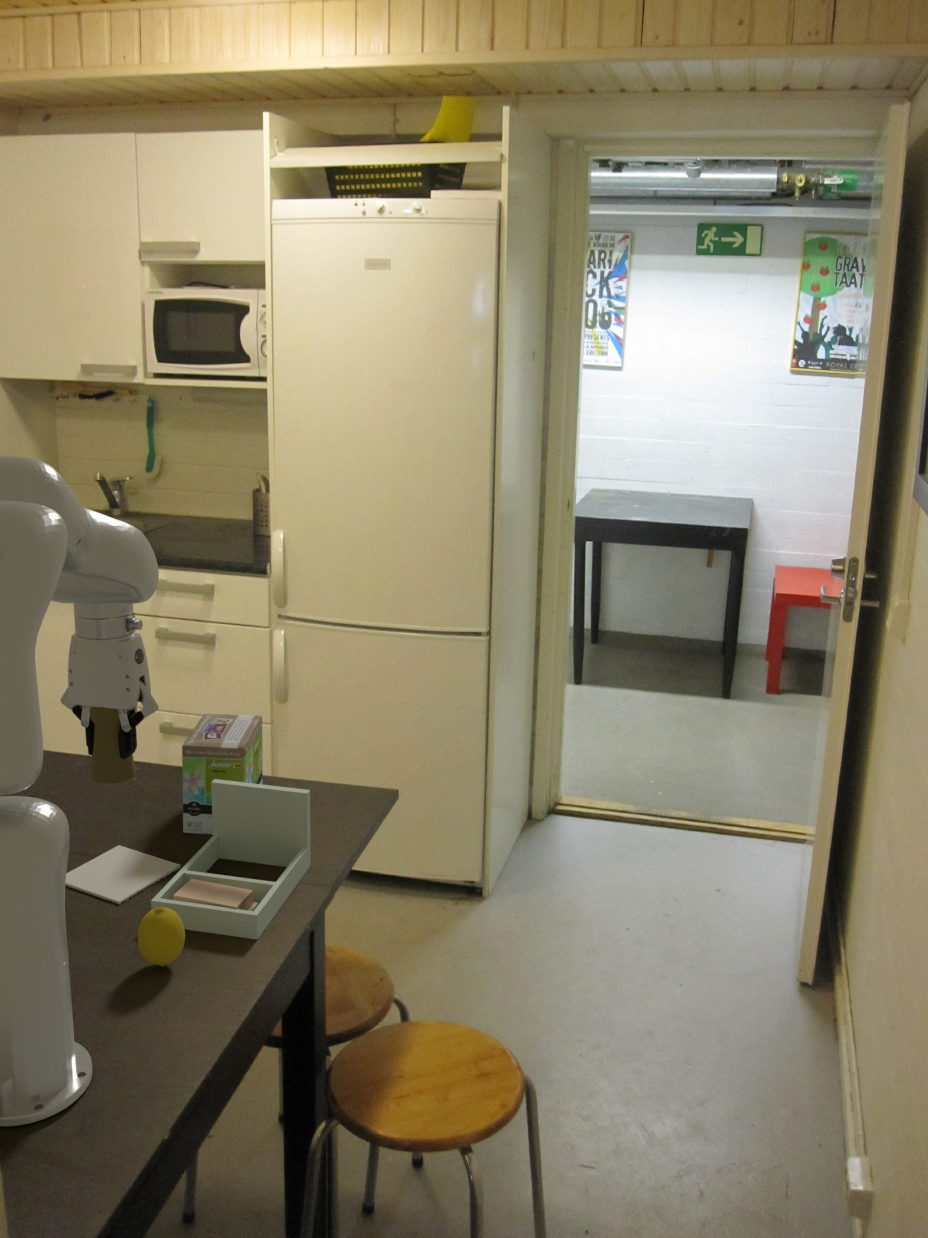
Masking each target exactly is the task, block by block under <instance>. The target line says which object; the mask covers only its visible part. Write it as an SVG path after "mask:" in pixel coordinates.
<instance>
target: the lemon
mask: <svg viewBox="0 0 928 1238" xmlns="http://www.w3.org/2000/svg"><path fill="white" fill-rule="evenodd" d="M185 930H186V929H184V925H183V923H182V920H181V918H180V916H179V915H178V914H177V913H176V912H175V911H174V910H172V909H170V908H166V907H158V908H155V909H153V910H149V911H148V912H147V913H145V915H144V916H143V918H142V919H141V921H140V924H139V927H138V931H137V945H138V949H139V953H140V954H141V956H142V957H143V959H144V960H145V961H146V962H148V963H149V964H152V965H155V966H159V967H165V966H166V965H168V964H170V963H172V962H174V961H175V960H176V959H178V958H179V956H180V955H181V953H182V951H183V949H184V945H185V941H186V931H185Z"/></svg>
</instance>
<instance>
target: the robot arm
mask: <svg viewBox="0 0 928 1238" xmlns="http://www.w3.org/2000/svg"><path fill="white" fill-rule="evenodd" d="M159 573H160V572H159V566H158V561H157V557H156V554H155V552H154V549H153V548H152V546H151V544H150V542H149V540H148V538H147V537H146V535H145V534H144V533H143V531H141V529H139V528H137V527H135V526H134V525H132V524H130V523H128V522H125V521H123V520H119V519H116V518H113V517H111V516H110V515H105V514H103V513H101V512H98V511H96V510H94V509H90V508H87V507H84V506H83V505H82V504H81V503H80V500H78V498H77V497H76V495H75V494H74V492H73V491H72V489H71V488H70V486H69V485H68V483H67V482H66V480H65V479H64V478H63V476H62V475H61V474H60V473H59V472H58V471H57V470H56V468H54V467H53V466H51V465H50V464H48V463H46V462H44V461H42V460H39V459H36V458H33V457H32V458H31V457H26V456H25V457H24V456H8V455H7V456H6V455H5V456H4V455H3V456H0V1127H15V1126H16V1127H17V1126H18V1127H19V1126H23V1125H28V1124H29V1125H30V1124H33V1123H36V1122H39V1121H42V1120H45V1119H47V1118H50V1117H51V1116H54V1115H56V1114H58V1113H60V1112H61V1111H63V1110H65V1109H67V1108H68V1107H69V1106H71V1105H72V1104H73V1103H74V1102H76V1101H77V1100H78V1099H79V1098H80V1097H81V1096H82V1095H83V1094H84V1093H85V1092H86V1091H87V1088H88V1086H89V1085H90V1083H91V1080H92V1077H93V1063H92V1062H93V1061H92V1057H91V1055H90V1053H89V1051H88V1050H87V1049H86V1048H85V1047H84V1046H83V1045H81V1044H80V1043H78V1042H76V1041H75V1031H74V1018H73V1005H72V1004H73V1003H72V990H71V988H72V987H71V975H70V963H69V961H70V960H69V950H68V949H69V948H68V938H67V936H68V935H67V923H66V922H67V920H66V885H65V882H66V873H67V870H68V869H67V868H68V860H69V851H70V836H71V835H70V825H69V821H68V818H67V816H66V814H65V813H64V811H63V810H62V808H60V807H59V806H58V805H56V804H55V803H53V802H51V801H49V800H45V799H42V798H38V797H33V796H32V797H31V796H22V795H21V796H20V795H13V794H16V793H19V792H22V791H24V790H27V789H28V788H30V787H31V786H32V785H33V784H34V783H35V782H36V781H37V780H38V779H39V776H40V775H41V772H42V768H43V762H44V738H43V729H42V728H43V727H42V717H41V710H40V709H41V707H40V700H39V699H40V697H39V687H38V676H37V669H36V667H37V666H36V647H37V641H38V637H39V636H38V635H39V632H40V629H41V626H42V624H43V623H42V622H43V621H44V618H45V615H46V613H47V611H48V609H49V606H50V604H51V602H54V603H58V604H59V603H60V604H73V617H74V620H73V621H74V632H75V633H73V634H72V635H71V638H70V639H71V640H70V644H69V650H68V660H67V662H68V663H67V688H66V690H65V691H64V693H63V695H62V696H61V698H60V703H61V704H62V705H63V706H64V707H66V708H67V709H69V710H70V711H71V712H72V713H73V715H74V716H75V717H76V718H77V719H78V720H79V721H80V725H81V726H82V727H83V728H84V729H85V732H84V733H85V742H86V743H85V745H86V746H87V753H88V755H89V756H92V754H93V742H94V727H95V724H94V723H93V722H92V720H91V717H90V708H91V707H104V708H110V709H114V710H118V713H119V718H120V722H121V726H122V730H121V731H120V732H119V734H118V735H119V752H120V757H121V759H126V758H128V757H129V756H130V755H132V754H134V753H135V752H136V750H137V747H138V741H137V740H138V738H137V726H139V725H140V724H141V722H142V721H143V720H144V719H145V718H147V717H149V716H151V715H152V714H154V713H156V712H157V711H158V710H159V705H158V703H157V702H156V700H155V699H154V697H153V695H152V693H151V691H152V690H151V689H152V688H151V687H152V686H151V679H150V672H149V671H150V670H149V664H148V657H147V653H146V649H145V645H144V641H143V638H142V636H141V635H142V634H141V633H138V632H136V631H141V630H142V629H143V626H144V625H143V624H144V623H143V620H141V619H138V618H136V613H135V612H134V604H141V603H145V602H147V601H148V600H151V598H152V597H153V595H154V594H155V592H156V590H157V587H158V584H159ZM138 703H140V704H141V705H142V708H141V709H139V710H138V709H137V706H138ZM7 795H8V796H7Z"/></svg>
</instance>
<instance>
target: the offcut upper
mask: <svg viewBox="0 0 928 1238" xmlns="http://www.w3.org/2000/svg"><path fill="white" fill-rule="evenodd" d="M173 900H175V901H183V902H190V903H197V904H204V905H211V906H219V907H226V908H233V909H240V910H248V909H249V908H250V907H251V906H252V905H253V904H254V902H253V890H249V889H244V888H238V887H233V886H228V885H222V884H217V883H211V882H206V881H201V880H195V879H191V880H190V881H188V882H187V883H186V884H185V885H184V886H183V887H182V888H181V889H179V890H178V891H177V892H176V893H175V894H174V895H173Z"/></svg>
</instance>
